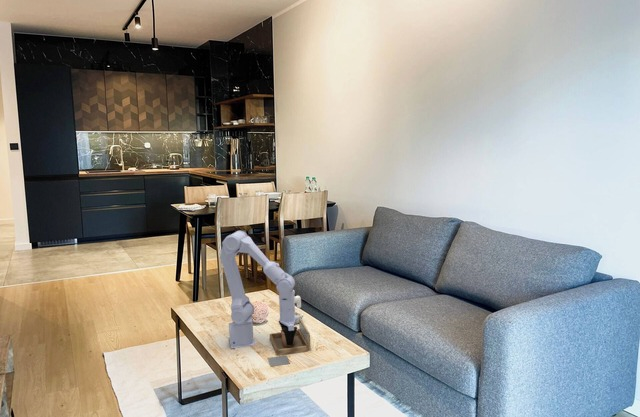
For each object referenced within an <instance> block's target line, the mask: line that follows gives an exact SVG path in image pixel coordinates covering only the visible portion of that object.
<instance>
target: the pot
mask: <svg viewBox="0 0 640 417" xmlns="http://www.w3.org/2000/svg"><path fill="white" fill-rule="evenodd" d="M280 332H281V334H282V345H283V346H284V347H292V346H294V341H293V345H287V343H286V338H285V334H284V332H283V330H282V329H280Z"/></svg>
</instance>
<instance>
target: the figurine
mask: <svg viewBox="0 0 640 417" xmlns="http://www.w3.org/2000/svg"><path fill="white" fill-rule="evenodd" d="M295 293H296V292H295V290H294V306H295V307H296V308H298V309H301V308H302V298H301V296H300V295H295ZM295 304H296V305H295ZM295 317H298V320H296V321H295V323H294V325H299V318H301V320H302V321H303V318H304V314H301V313H299V312H296V311H295Z"/></svg>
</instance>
